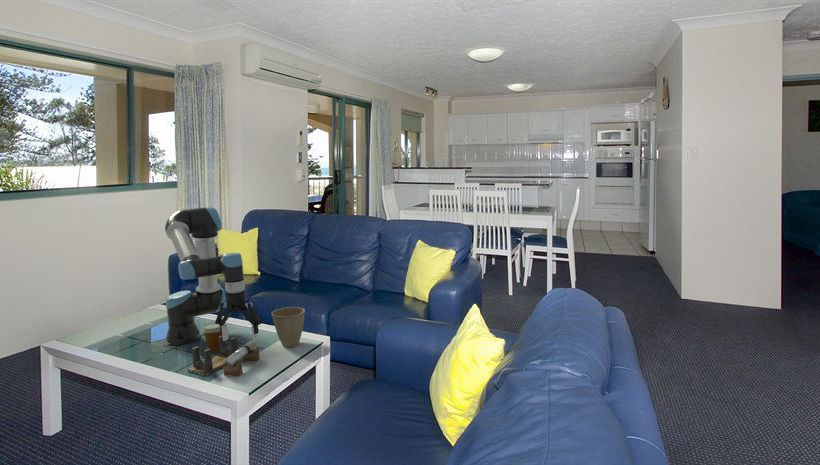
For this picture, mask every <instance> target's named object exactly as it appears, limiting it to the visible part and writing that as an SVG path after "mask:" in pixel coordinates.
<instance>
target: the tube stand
mask: <svg viewBox="0 0 820 465" xmlns="http://www.w3.org/2000/svg"><path fill="white" fill-rule="evenodd" d="M260 360H261V355H260V347H256V349H255V350H253V351H252V352H251V353H250V354H248V355H247V356H245V357H244V358H243V359H241V360H240V361H239V362H237V363H236V364H234V365H233V366H232V367H228V366H227V365H226V364H225V362H224V363H223V367H222V370H223V375H224V376H228V375H231V376H230V377H232V376H233V377H240V376H242V374H243V362H248V363H249V362H250V363H257V362H259V361H260Z"/></svg>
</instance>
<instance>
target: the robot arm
mask: <svg viewBox="0 0 820 465" xmlns="http://www.w3.org/2000/svg"><path fill="white" fill-rule="evenodd" d="M222 228H223V227H222V222H221V217H220V214H219V212H218V211H217V209H216V208H215V207H197V208H188V209H180V210H177V211H175V212H173V213H172V214H171V215H170V216H169V217H168V218H167V219H166V223H165V227H164V229H165V235H166V236H167V238H168V239H170V240H171V242H172V244H173V246H174V249H175V252H176V254H177V255H178V258H179V262H178V265H177V266H178V267H177V269H178V274H179V277H180V279H181V280H194V279H198V285H197V286H196V287H195V292H192V291H191V290H181V291H177V292H174V293H172V294H170V295H168V296H167V298H166V299H165V308H166V315H167V322H168V323H167V324H168V329H167V332H166V333H167V334H166V336H165V341H167V342H168V343H170V344H182V345H187V344H190V342H191V343H192V342H193V343H194V342H196V341H198V340H199V339H201V338H200V337H201V334H200V331H199V329H198V326H197V324H196V322H195V318H196V317H199V316H204V315H210V314H216V313H217V316H216V319H215V322H214V323H215V324H219V325H220V331H221V333H222V336H223V341H226V342H227V341H228V340H229V332H228V324H227V323H226V322H227V321H228V320H229V318H230V316H231V315H232V314H238V315H239V314H241V315H243V316H244V318H246V320H247V321H248V322H249V323H250V324H251V327H250V328H251V329H250V330H251V339H252V340H251V341H253V342H255V343H256V342H257V341H258V339H259V338H258V334H259V333H260V332H259V326H260V325H261V324H262V323H263V320H262V318H261V317H260V315H259V313H258V312H257V310H256V308H255V305H254V302H253V301H250V302H247V301H246V297H247V296H246V290H245V278H244V277H245V276H244V265H243V264H244V263H243V258H242V254H241V253H240V252H230V253H229V252H228V253H225V254H219V255H218V256H217V255H216V254H217V253H216V238H217V237H218V236H219V234H218V232H219V231H222ZM192 238H193V239H194V240H195V244H194V242H193V239H192ZM218 275H223V280H224V288H222V286H221V284H220V283H218ZM227 308H228V310H227V311H226V309H227ZM225 311H226V312H225ZM167 342H166V343H167ZM186 343H187V344H186Z"/></svg>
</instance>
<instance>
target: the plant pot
mask: <svg viewBox="0 0 820 465" xmlns="http://www.w3.org/2000/svg"><path fill="white" fill-rule="evenodd" d="M305 310H306V309H305V308H303V307H298V306H289V307H287V306H286V307H282V308H277V309H275V310H273V311H272V312H271V318H272V320H273V325H274V328H275V332H276V334H277V337H278V339H279V341H280V344H281V345H282V346H283V347H284V348H293V347H297V346H298V345H299V343H300V341H301V338H302V337H301V336H302V333H303V328H304V321H305ZM296 345H297V346H296Z"/></svg>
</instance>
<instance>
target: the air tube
mask: <svg viewBox="0 0 820 465" xmlns="http://www.w3.org/2000/svg"><path fill="white" fill-rule="evenodd" d="M256 348H258V347H257V343H256V341H255V342H253V340H251V341H249V342H247V343H246V344H244V345H242V346H241V347H240V348H238V350H237V351H236V352H234V353H233V354H232V355H230V356H229V357H227V358H226V359H225V364H226V365H227V366H228V367H232V366H233V365H234V364H236V363H238V362H239V361H242V359H243V358H244V357H245V356H247V355H248V354H250V353H251V352H252V351H253V350H255V349H256Z"/></svg>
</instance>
